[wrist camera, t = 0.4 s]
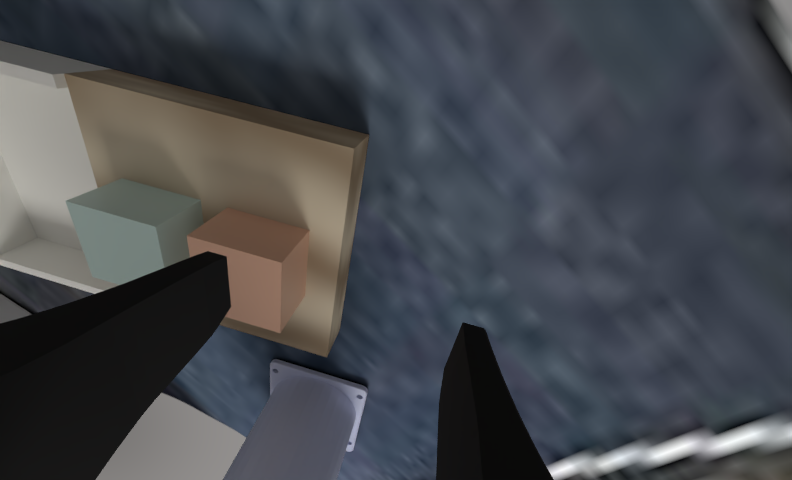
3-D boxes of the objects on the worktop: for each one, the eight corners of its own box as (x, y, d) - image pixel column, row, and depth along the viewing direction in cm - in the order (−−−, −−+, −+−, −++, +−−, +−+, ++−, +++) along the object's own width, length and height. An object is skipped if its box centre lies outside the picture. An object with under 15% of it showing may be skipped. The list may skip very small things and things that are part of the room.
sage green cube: (209, 267, 20) (171, 300, 18) (139, 247, 21) (92, 276, 18) (200, 200, 18) (155, 226, 15) (122, 178, 18) (65, 201, 16)
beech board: (339, 329, 25) (326, 357, 22) (158, 276, 25) (130, 297, 23) (369, 134, 17) (354, 148, 15) (112, 69, 18) (63, 73, 16)
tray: (158, 276, 25) (110, 312, 22) (37, 240, 26) (-28, 270, 23) (112, 69, 18) (28, 76, 15) (-56, 26, 19) (-174, 24, 15)
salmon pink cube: (305, 295, 20) (280, 333, 17) (232, 274, 20) (198, 308, 18) (309, 230, 18) (281, 262, 15) (227, 207, 18) (186, 235, 15)
